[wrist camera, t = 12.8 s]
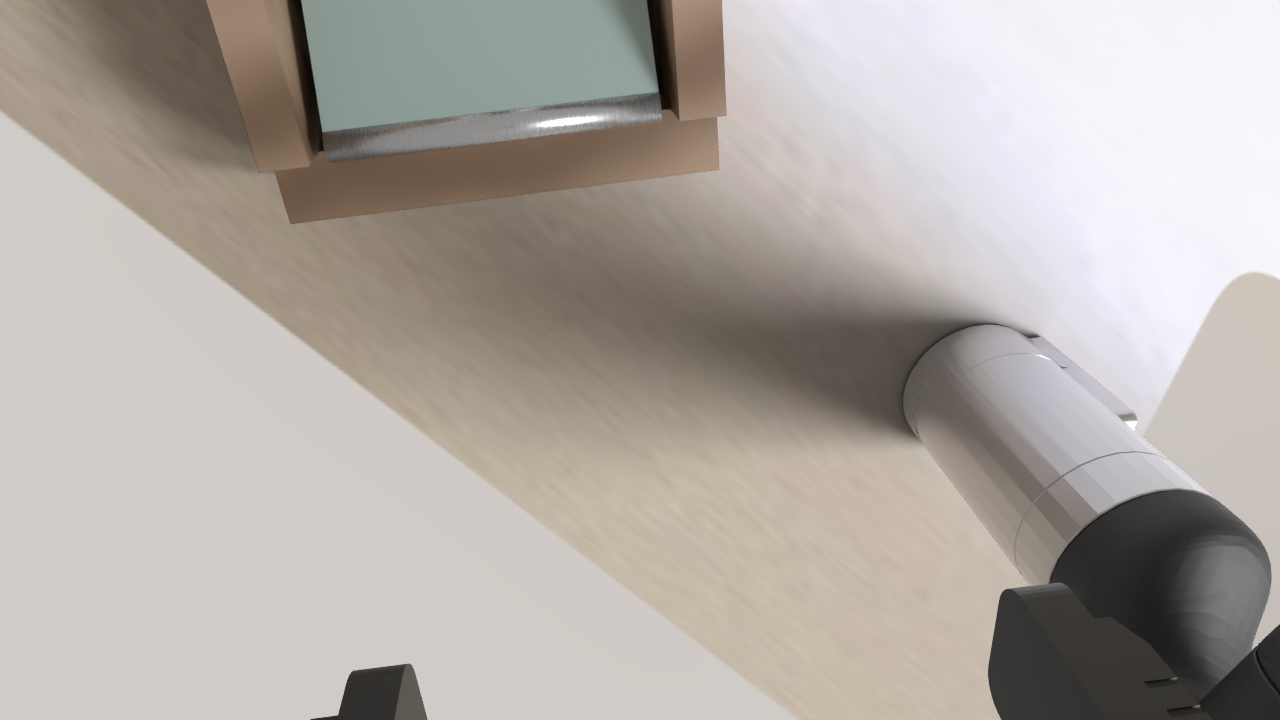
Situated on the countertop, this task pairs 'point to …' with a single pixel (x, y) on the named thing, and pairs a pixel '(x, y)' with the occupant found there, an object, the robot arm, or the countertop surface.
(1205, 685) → the robot arm
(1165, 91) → the countertop surface
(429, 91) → the trapdoor
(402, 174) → the frame
